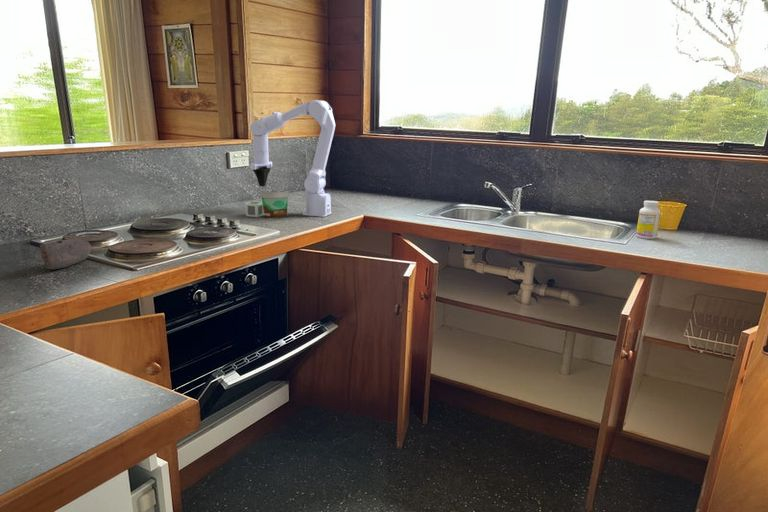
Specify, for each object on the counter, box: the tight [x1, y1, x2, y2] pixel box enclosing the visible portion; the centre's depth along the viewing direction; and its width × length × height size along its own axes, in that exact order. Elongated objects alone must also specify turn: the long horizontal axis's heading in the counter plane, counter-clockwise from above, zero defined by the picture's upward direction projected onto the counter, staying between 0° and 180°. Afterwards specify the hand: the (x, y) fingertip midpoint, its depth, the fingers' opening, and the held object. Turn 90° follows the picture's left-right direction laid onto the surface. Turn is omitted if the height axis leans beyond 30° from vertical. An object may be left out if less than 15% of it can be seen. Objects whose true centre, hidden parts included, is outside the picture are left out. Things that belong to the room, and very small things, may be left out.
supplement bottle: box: [635, 200, 661, 240], centre depth 184 cm, size 7×7×13 cm
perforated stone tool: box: [39, 238, 92, 271], centre depth 135 cm, size 15×5×7 cm, turn 163°
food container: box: [259, 189, 291, 219], centre depth 203 cm, size 12×6×10 cm, turn 135°
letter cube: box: [244, 201, 264, 218], centre depth 205 cm, size 5×5×5 cm
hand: (262, 186), depth 211 cm, fingers closed
